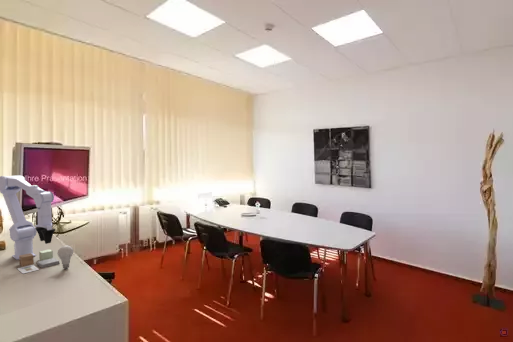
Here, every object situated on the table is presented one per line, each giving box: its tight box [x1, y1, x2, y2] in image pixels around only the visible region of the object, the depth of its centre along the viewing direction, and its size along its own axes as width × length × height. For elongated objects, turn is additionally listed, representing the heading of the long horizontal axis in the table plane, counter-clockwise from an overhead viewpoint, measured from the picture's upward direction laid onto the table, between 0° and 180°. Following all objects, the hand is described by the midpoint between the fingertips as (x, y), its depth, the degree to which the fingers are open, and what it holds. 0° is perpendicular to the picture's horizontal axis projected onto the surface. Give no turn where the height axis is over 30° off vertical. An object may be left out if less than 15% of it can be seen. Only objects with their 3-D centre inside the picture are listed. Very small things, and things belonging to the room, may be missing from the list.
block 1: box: [18, 253, 35, 267], centre depth 138 cm, size 4×4×4 cm
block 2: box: [38, 248, 54, 261], centre depth 144 cm, size 4×4×4 cm
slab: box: [36, 257, 60, 269], centre depth 138 cm, size 7×7×2 cm
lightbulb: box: [57, 245, 74, 270], centre depth 131 cm, size 6×6×11 cm
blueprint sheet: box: [16, 264, 40, 275], centre depth 132 cm, size 10×6×1 cm, turn 52°
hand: (45, 241), depth 144 cm, fingers open, 7 cm apart
